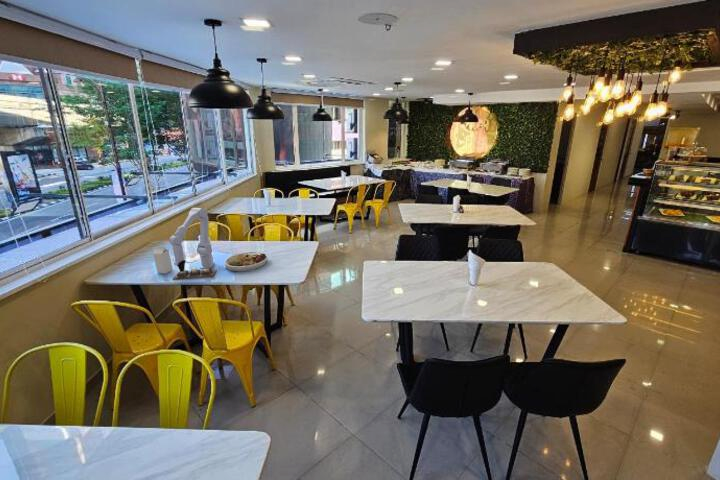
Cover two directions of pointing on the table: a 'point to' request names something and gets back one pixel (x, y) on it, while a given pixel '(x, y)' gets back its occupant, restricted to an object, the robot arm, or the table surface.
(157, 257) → the milk carton
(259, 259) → the bowl
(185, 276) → the panel
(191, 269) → the cream button
